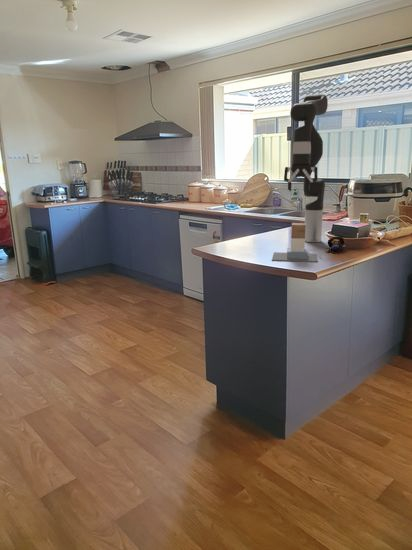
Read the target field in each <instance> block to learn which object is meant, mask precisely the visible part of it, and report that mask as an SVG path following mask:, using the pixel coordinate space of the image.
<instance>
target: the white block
mask: <svg viewBox="0 0 412 550" xmlns="http://www.w3.org/2000/svg"><path fill="white" fill-rule="evenodd" d="M290 238H291V237H290ZM305 246H306V241H305V239H300V238H291V239H290V248H291V251H294V252H304V250H305V249H306V247H305Z"/></svg>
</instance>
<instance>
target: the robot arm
mask: <svg viewBox="0 0 412 550" xmlns="http://www.w3.org/2000/svg"><path fill="white" fill-rule="evenodd" d="M328 101H329V100H328V97H327V96H326V95H325V94H323V93H322V94H321V93H320V94H307V95H305V96H304V99H303V102H300V103H298V102H297V103H294V104H293V105H292V106H291V109H290V112H289V113H290V114H289V115H290V118H291V120H292V121H294V122H303V125H302V126H299V127H296V128H295V129H294V133H293V144H292V145H293V146H292V162H291V163H292V164H291V167H288V166H285V167H284V173H283V174H284V177H283V181H284V182H287V190H288V191H289V192H292V181H293V180H294V178H295V177H296V178H300V177H301V178H303V195H304V196H305V197H308V198H309V197H310V198H311V197H313V198H314V197H316V200H313V201H312V202H309V203H306V204H305V208H304V209H305V210H304V211H305V212H304V223H305V224H306V228H305V243H307V242H308V243H320V242H322V234H323V233H322V231H323V217H324V214H323V213H324V199H325V198H324V197H325V189H326V188H325V187H326V183H325V180H324V179H323V178H322V179H321V178H318V167H317V164H318V163H319V161H321V159H322V157H323V153H324V152H323V151H324V150H323V149H324V141H323V139H322V136H321V135H320V132H318V130H317V129H316V127H315V125H314V121H315V118H316V116H321V115H325V114H326V112H327V110H328V106H329V105H328V103H329V102H328ZM290 171H291V172H292V175H291V176H290V177H289V178H288V173H289V172H290ZM312 173H313V174H314V178H312V176H311V175H312Z"/></svg>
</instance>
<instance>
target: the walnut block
mask: <svg viewBox="0 0 412 550" xmlns="http://www.w3.org/2000/svg"><path fill="white" fill-rule="evenodd" d="M305 228H306V224H305V222H304V223H303V222H300V223H299V222H291V237H290V238H300V239H305Z"/></svg>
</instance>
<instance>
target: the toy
mask: <svg viewBox="0 0 412 550" xmlns="http://www.w3.org/2000/svg"><path fill="white" fill-rule="evenodd" d="M327 245H328V247H329V248H326V249H325V252H326V253H330V252H331V253H334V252H335V253H338V254H339V253H340V251H342V249H344V248H345V240H344V237H343V236H333V237H331V238H329V239H328V241H327Z"/></svg>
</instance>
